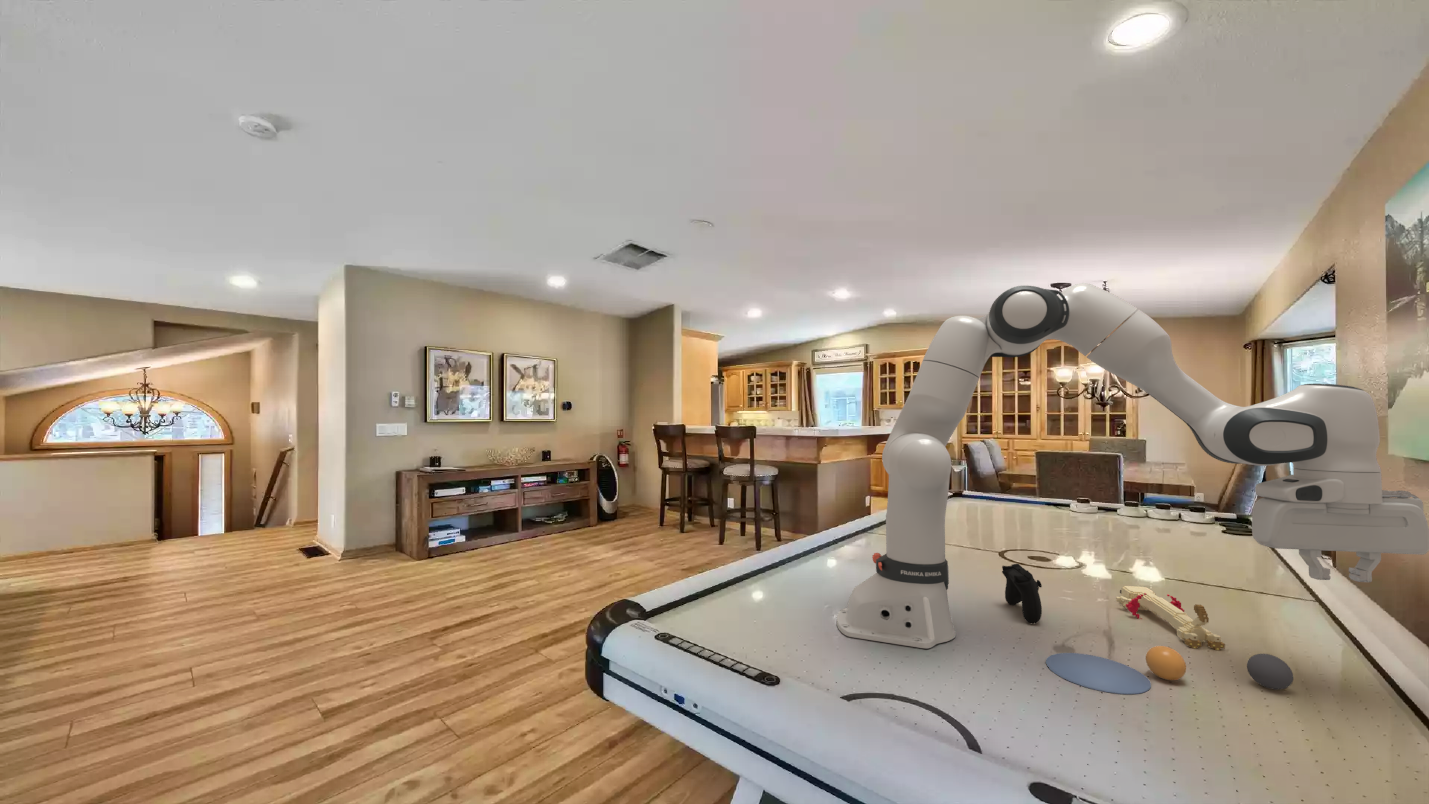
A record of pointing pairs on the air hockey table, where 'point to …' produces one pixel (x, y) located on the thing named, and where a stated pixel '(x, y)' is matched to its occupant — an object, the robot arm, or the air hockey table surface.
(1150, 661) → the object ball
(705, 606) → the air hockey table surface
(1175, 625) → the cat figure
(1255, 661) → the dark grey ball
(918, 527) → the robot arm
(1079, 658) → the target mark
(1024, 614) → the gaming controller
